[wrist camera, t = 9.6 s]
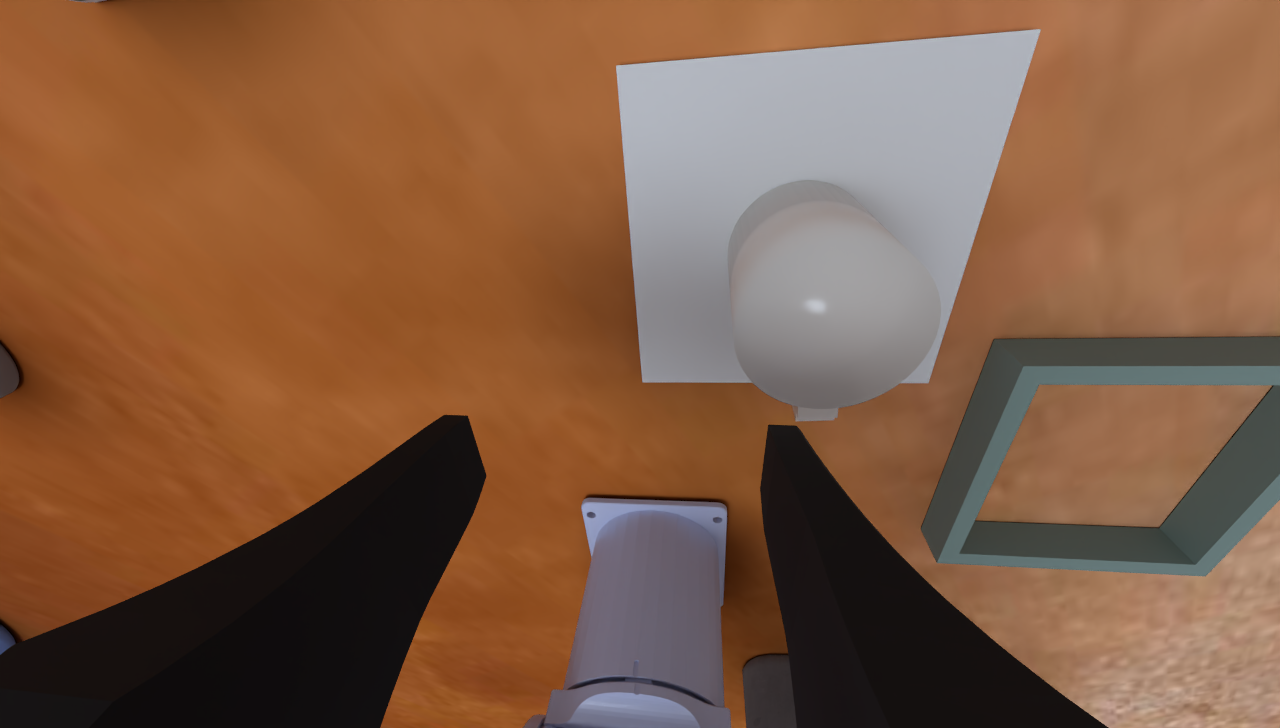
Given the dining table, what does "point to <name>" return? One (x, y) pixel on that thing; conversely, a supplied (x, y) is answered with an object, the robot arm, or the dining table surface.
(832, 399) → the jug
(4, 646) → the water jug
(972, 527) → the holder
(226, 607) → the robot arm
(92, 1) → the syrup box
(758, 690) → the flask
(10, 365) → the travel mug
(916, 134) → the mat
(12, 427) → the dining table surface
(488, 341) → the dining table surface
